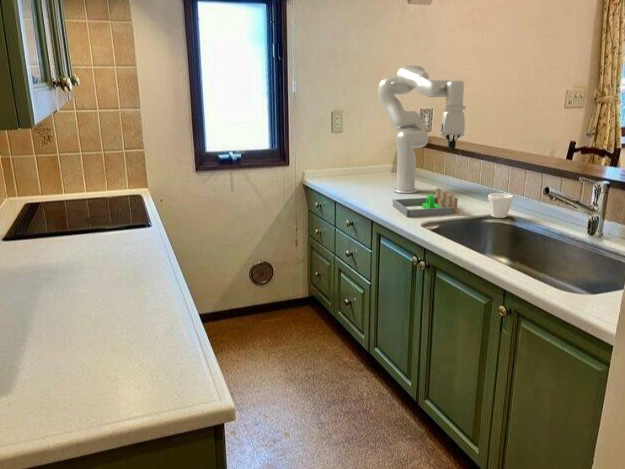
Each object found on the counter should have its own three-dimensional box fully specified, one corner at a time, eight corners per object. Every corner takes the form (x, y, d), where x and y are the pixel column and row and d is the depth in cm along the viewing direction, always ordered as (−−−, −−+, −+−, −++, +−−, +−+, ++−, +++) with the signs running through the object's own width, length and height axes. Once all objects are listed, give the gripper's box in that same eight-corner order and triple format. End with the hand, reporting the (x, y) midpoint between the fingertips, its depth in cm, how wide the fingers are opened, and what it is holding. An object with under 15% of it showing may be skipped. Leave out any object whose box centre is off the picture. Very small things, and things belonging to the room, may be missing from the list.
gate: (435, 202, 250) (436, 188, 248) (438, 202, 250) (439, 188, 248) (453, 213, 230) (454, 198, 228) (456, 213, 230) (457, 197, 228)
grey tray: (392, 205, 247) (392, 199, 246) (434, 203, 250) (435, 197, 249) (407, 217, 227) (407, 210, 226) (452, 214, 230) (453, 207, 229)
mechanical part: (442, 213, 232) (443, 195, 230) (429, 214, 232) (430, 196, 230) (435, 207, 244) (435, 190, 242) (422, 207, 244) (422, 190, 241)
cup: (516, 217, 223) (518, 196, 220) (500, 221, 218) (502, 199, 215) (497, 212, 231) (499, 191, 229) (481, 216, 226) (483, 194, 224)
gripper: (465, 107, 244) (463, 147, 249) (435, 108, 242) (433, 149, 247) (473, 108, 237) (470, 149, 242) (441, 109, 234) (439, 151, 240)
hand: (451, 149), depth 244 cm, fingers closed
